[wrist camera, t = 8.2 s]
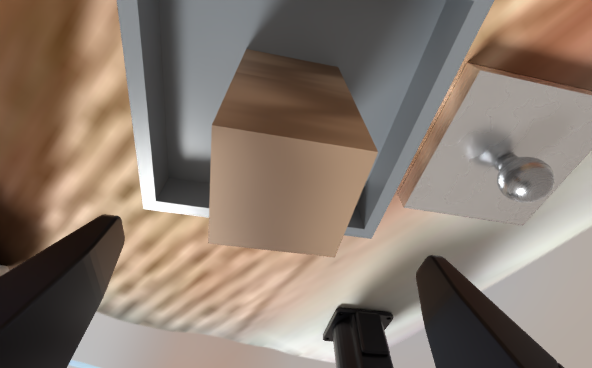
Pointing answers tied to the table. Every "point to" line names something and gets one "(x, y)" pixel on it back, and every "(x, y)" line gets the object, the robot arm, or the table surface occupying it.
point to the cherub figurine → (3, 269)
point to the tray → (295, 44)
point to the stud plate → (500, 146)
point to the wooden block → (286, 157)
